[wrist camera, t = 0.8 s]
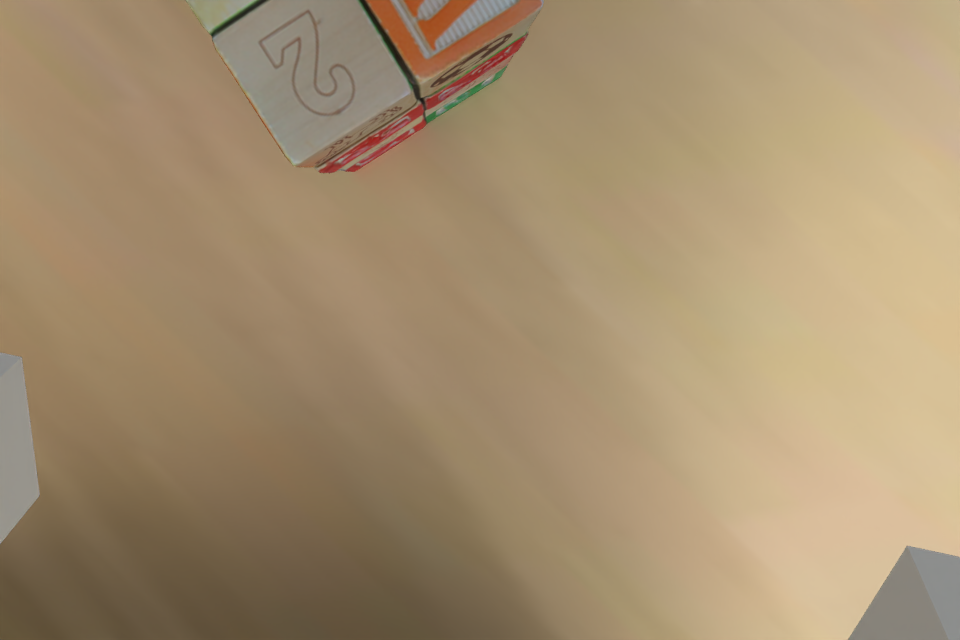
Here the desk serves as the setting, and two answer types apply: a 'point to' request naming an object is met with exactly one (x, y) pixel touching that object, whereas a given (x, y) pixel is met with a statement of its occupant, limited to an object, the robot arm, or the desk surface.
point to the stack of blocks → (360, 66)
